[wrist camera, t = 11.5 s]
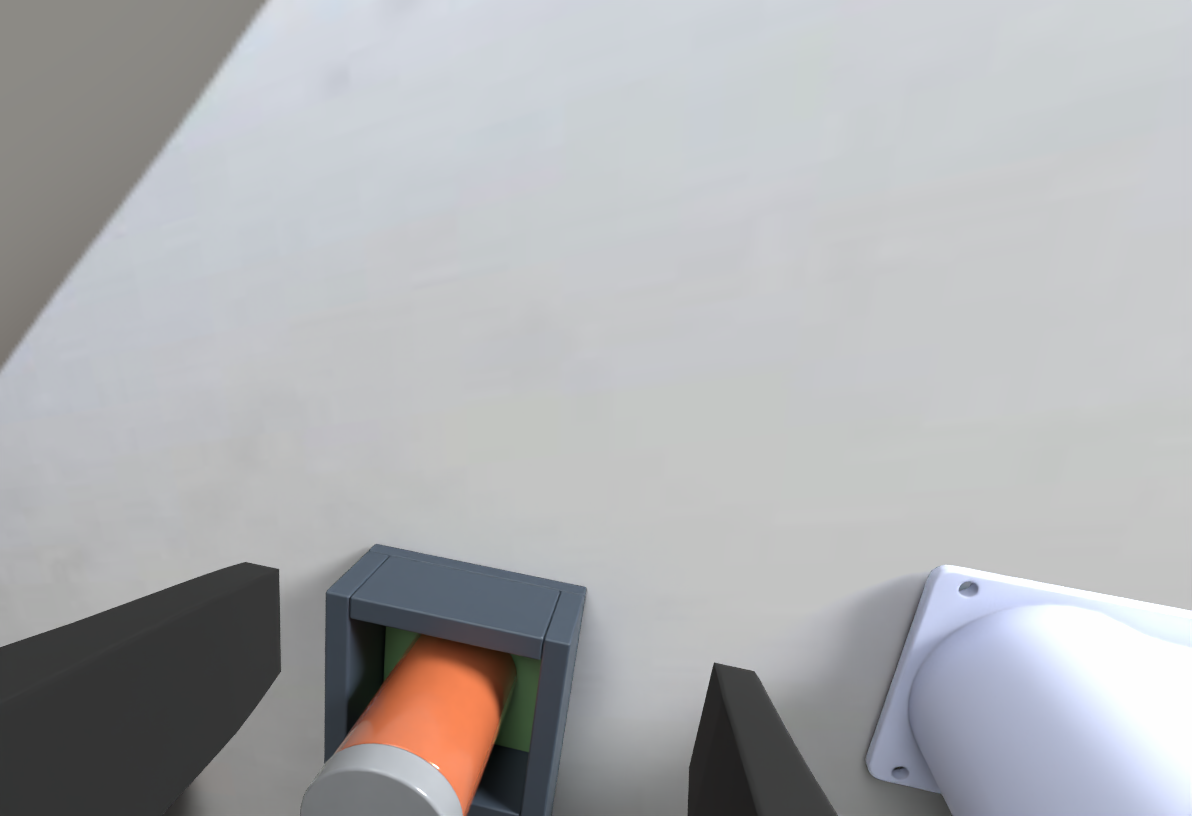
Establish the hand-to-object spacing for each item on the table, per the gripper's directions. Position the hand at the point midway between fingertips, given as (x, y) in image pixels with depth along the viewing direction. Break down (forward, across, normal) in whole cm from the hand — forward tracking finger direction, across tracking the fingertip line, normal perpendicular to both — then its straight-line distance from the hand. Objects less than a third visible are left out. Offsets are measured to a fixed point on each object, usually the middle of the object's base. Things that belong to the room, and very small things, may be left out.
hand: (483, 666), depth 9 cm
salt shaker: (+9, +3, +8) cm, 12 cm away
